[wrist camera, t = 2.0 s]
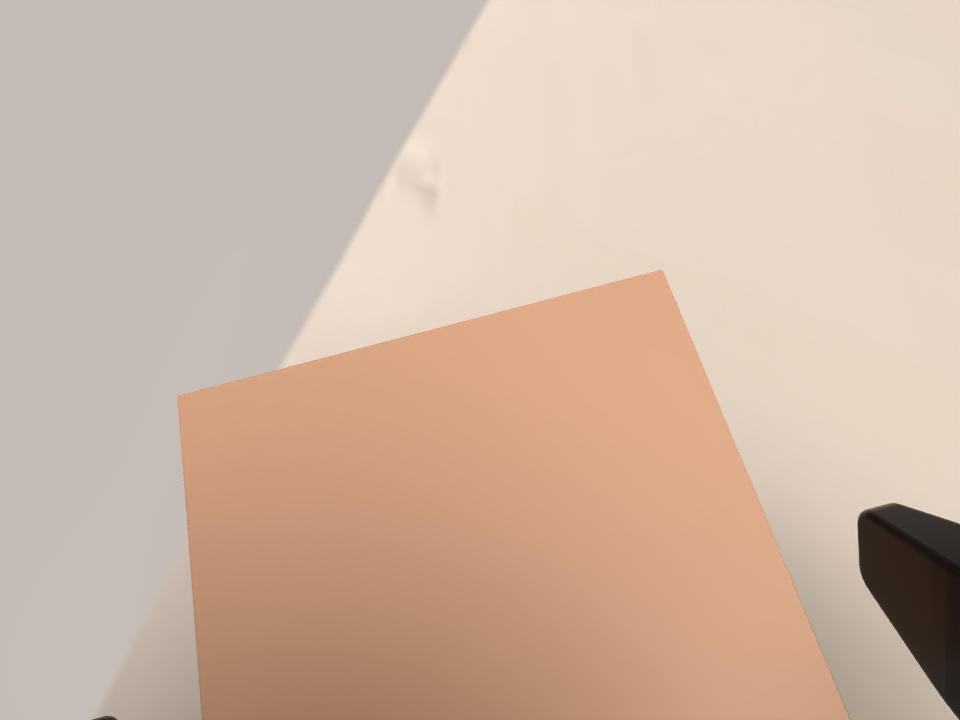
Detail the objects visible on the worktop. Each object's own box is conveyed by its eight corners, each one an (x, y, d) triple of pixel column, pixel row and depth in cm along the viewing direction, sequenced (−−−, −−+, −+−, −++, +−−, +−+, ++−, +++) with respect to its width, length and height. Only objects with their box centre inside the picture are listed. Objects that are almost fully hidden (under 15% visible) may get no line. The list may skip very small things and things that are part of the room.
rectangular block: (748, 709, 11) (851, 724, 7) (329, 825, 11) (216, 901, 7) (629, 385, 13) (662, 270, 9) (282, 476, 13) (178, 396, 9)
